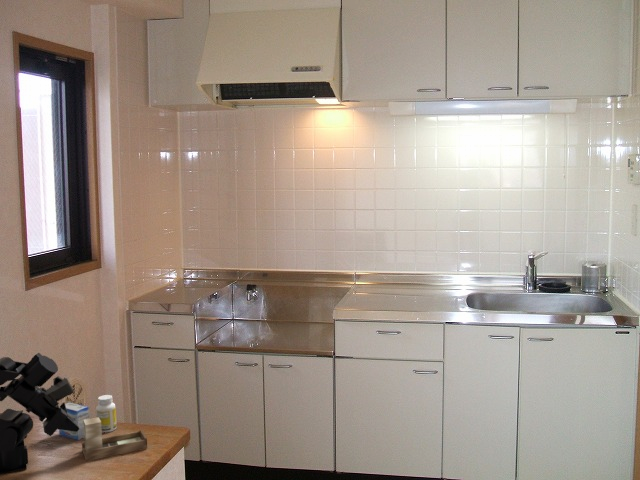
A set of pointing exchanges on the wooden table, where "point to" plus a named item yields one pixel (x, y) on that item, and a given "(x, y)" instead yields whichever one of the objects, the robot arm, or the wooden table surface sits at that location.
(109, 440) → the box
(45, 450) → the wooden table surface
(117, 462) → the wooden table surface
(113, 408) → the supplement bottle
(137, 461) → the wooden table surface
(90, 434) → the cream block
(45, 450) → the wooden table surface
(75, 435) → the medicine box
